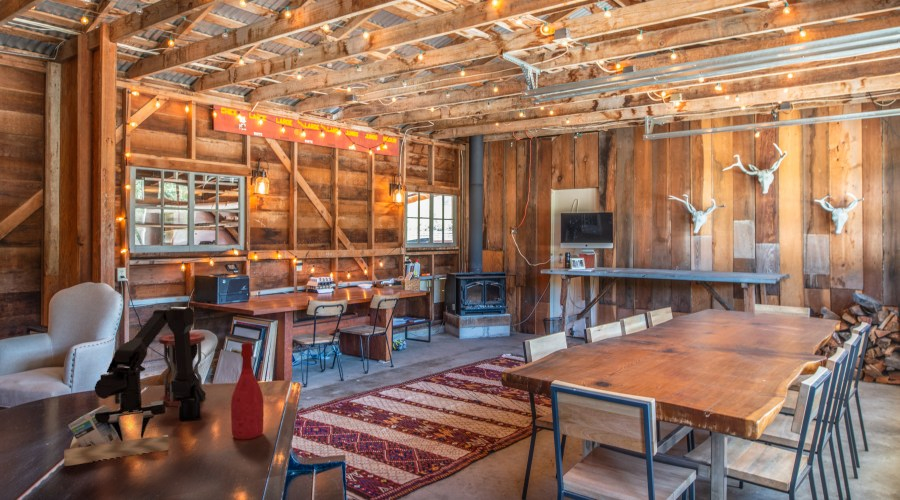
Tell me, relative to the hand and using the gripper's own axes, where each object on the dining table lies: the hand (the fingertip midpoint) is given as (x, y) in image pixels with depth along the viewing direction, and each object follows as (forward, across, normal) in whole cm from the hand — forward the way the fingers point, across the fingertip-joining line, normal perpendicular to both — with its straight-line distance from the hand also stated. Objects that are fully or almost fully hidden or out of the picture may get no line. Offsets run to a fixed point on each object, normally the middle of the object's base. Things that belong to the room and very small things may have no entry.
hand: (131, 439), depth 177 cm
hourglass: (+3, -16, -46) cm, 49 cm away
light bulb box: (+1, +7, 0) cm, 7 cm away
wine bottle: (+3, -33, +7) cm, 34 cm away
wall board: (+2, +3, +1) cm, 4 cm away
